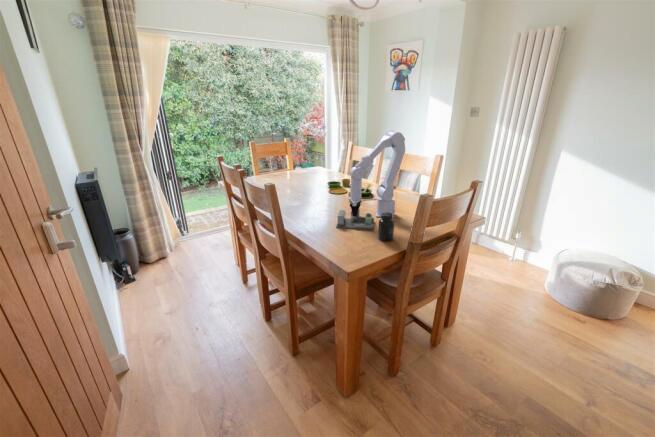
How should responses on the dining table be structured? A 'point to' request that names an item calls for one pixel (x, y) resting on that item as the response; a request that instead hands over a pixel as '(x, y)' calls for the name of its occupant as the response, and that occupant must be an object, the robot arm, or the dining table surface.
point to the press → (353, 222)
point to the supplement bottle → (386, 227)
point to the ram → (368, 218)
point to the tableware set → (346, 182)
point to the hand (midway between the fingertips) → (355, 214)
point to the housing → (357, 214)
